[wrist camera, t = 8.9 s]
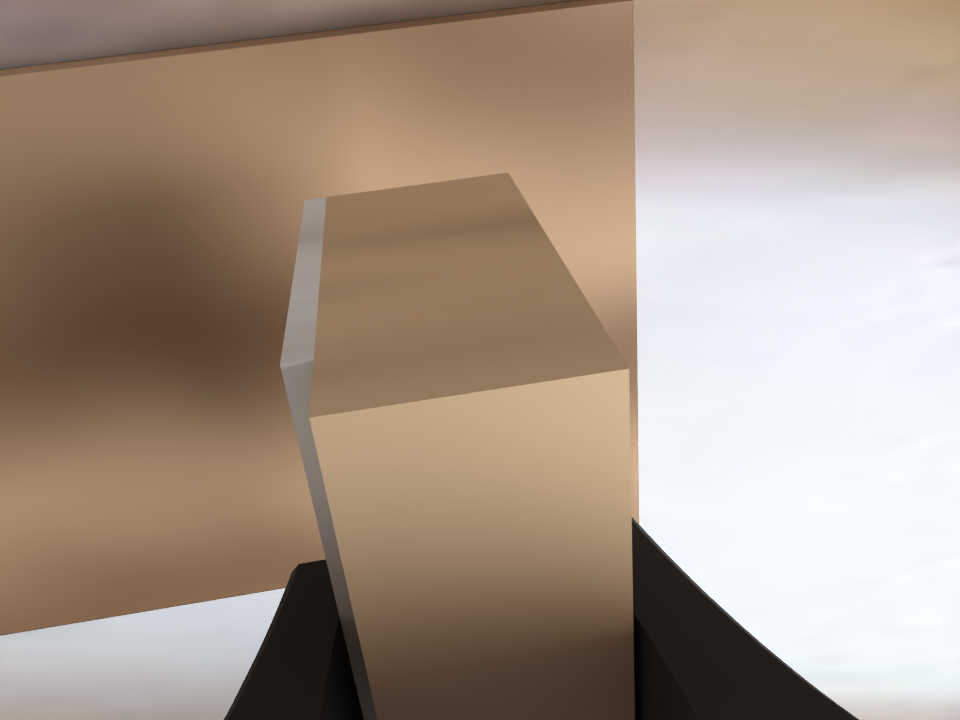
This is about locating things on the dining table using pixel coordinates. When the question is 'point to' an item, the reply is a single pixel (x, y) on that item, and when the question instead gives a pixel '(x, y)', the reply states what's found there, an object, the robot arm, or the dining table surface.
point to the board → (251, 272)
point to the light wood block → (463, 456)
